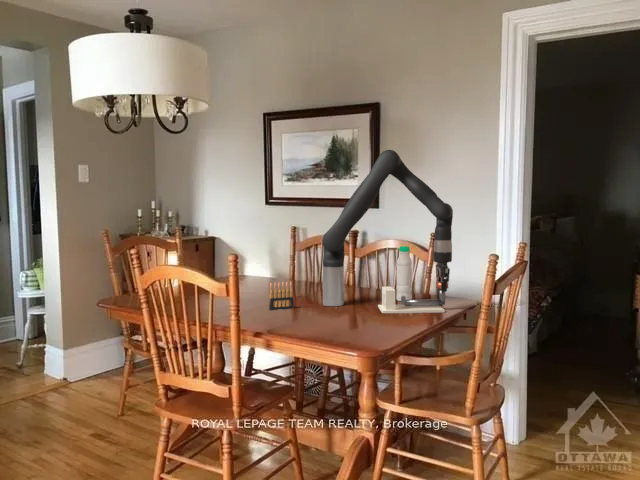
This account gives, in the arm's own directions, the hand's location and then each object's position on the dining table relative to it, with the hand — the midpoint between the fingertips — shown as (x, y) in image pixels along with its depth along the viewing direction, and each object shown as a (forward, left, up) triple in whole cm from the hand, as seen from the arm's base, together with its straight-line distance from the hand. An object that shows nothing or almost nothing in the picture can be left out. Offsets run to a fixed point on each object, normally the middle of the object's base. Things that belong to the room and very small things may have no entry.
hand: (442, 290), depth 243 cm
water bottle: (-13, +20, -8) cm, 25 cm away
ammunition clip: (-69, +5, -8) cm, 69 cm away
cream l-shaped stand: (-14, 0, -8) cm, 16 cm away
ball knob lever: (-7, 0, -7) cm, 10 cm away
